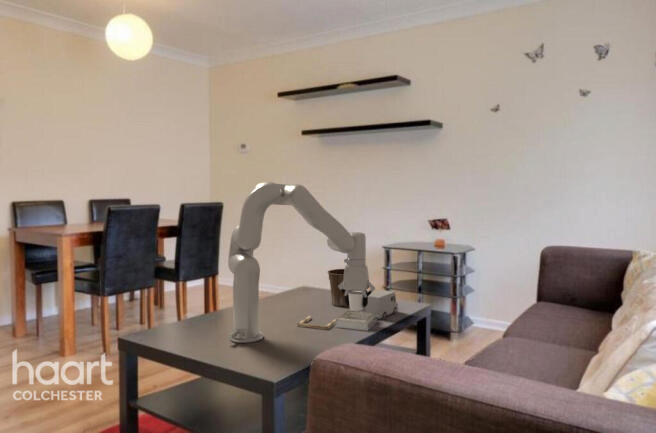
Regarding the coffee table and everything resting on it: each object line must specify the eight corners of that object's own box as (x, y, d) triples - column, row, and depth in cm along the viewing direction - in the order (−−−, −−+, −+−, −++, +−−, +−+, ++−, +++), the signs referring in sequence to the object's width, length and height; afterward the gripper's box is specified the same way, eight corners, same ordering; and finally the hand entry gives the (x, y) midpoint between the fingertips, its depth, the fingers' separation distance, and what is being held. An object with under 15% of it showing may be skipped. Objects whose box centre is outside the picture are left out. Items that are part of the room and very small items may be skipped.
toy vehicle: (399, 312, 219) (399, 290, 218) (379, 321, 204) (379, 298, 204) (382, 309, 224) (382, 288, 223) (362, 318, 210) (362, 295, 209)
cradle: (326, 329, 192) (326, 326, 192) (297, 326, 197) (297, 323, 197) (337, 321, 203) (337, 319, 203) (309, 318, 208) (309, 316, 208)
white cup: (355, 311, 195) (355, 294, 194) (344, 308, 200) (344, 291, 200) (368, 309, 199) (368, 292, 198) (357, 305, 204) (357, 289, 204)
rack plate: (367, 330, 191) (367, 321, 190) (334, 327, 196) (334, 318, 196) (377, 321, 204) (377, 312, 203) (345, 318, 209) (346, 309, 209)
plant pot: (320, 304, 234) (320, 271, 233) (344, 298, 245) (344, 267, 244) (343, 310, 222) (344, 275, 221) (368, 304, 233) (368, 271, 232)
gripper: (333, 262, 198) (333, 305, 199) (374, 265, 191) (374, 309, 193) (339, 260, 205) (339, 301, 206) (379, 262, 198) (379, 305, 199)
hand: (356, 305), depth 199 cm, fingers closed on white cup, 6 cm apart
